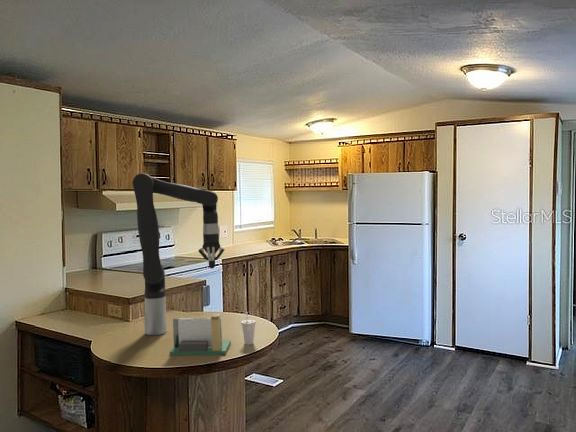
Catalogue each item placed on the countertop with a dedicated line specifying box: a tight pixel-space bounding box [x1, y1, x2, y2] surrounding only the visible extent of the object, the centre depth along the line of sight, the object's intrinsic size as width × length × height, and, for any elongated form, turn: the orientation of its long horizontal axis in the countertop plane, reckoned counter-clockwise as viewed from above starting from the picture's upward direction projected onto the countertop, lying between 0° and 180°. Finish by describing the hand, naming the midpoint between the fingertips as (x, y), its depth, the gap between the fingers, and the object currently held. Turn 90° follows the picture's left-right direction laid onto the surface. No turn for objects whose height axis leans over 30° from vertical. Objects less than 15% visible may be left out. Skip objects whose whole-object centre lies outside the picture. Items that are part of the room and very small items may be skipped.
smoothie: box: [240, 311, 257, 346], centre depth 213 cm, size 6×6×14 cm
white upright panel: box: [172, 317, 223, 348], centre depth 204 cm, size 20×2×12 cm, turn 88°
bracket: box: [169, 313, 232, 356], centre depth 207 cm, size 23×14×16 cm, turn 88°
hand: (212, 268), depth 237 cm, fingers closed
